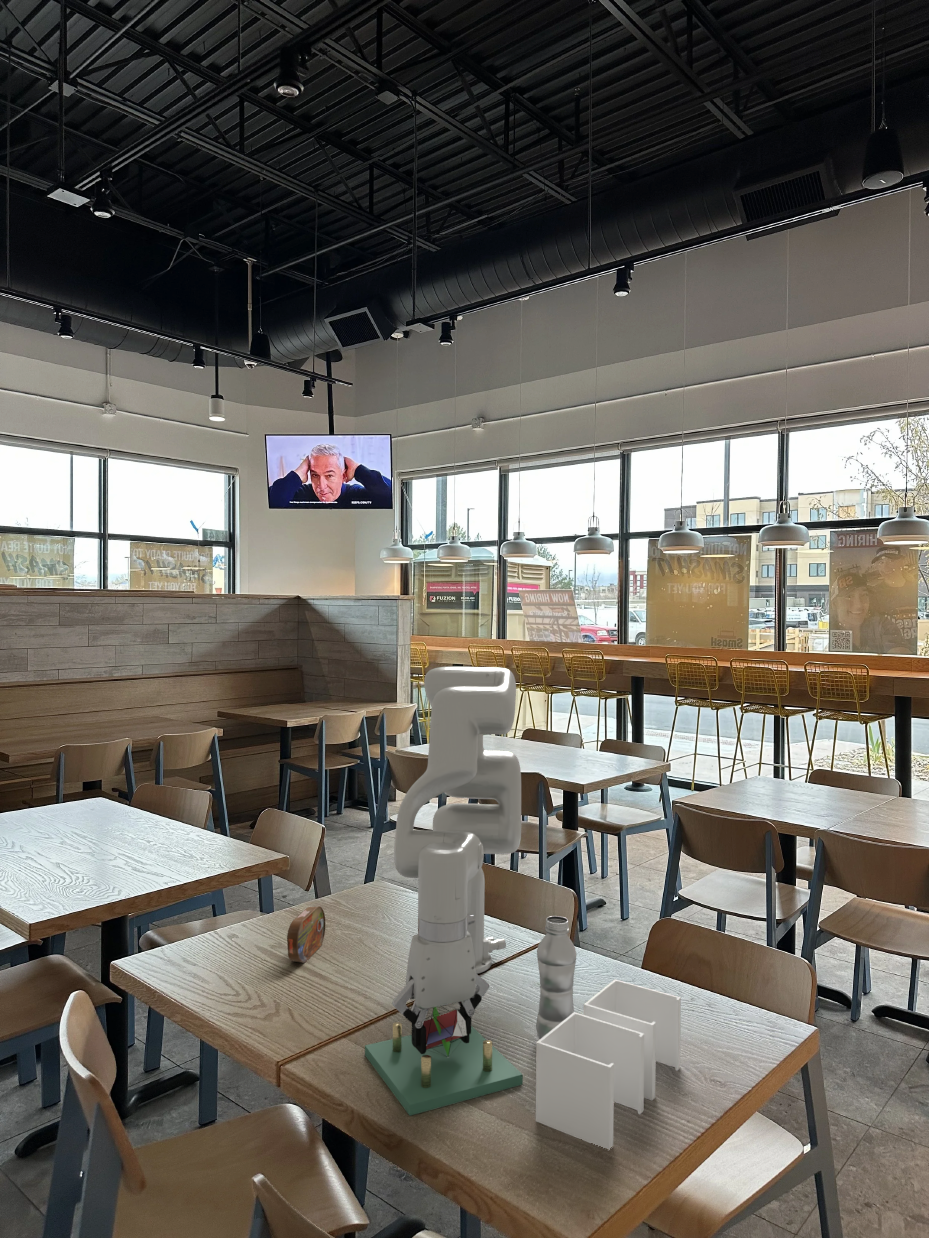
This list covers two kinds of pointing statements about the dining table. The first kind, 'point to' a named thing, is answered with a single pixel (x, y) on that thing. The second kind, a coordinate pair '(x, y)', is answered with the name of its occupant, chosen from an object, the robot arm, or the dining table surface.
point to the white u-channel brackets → (605, 1059)
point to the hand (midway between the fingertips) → (441, 1043)
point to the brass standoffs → (427, 1059)
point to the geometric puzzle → (444, 1029)
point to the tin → (306, 934)
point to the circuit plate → (441, 1072)
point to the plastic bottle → (555, 975)
